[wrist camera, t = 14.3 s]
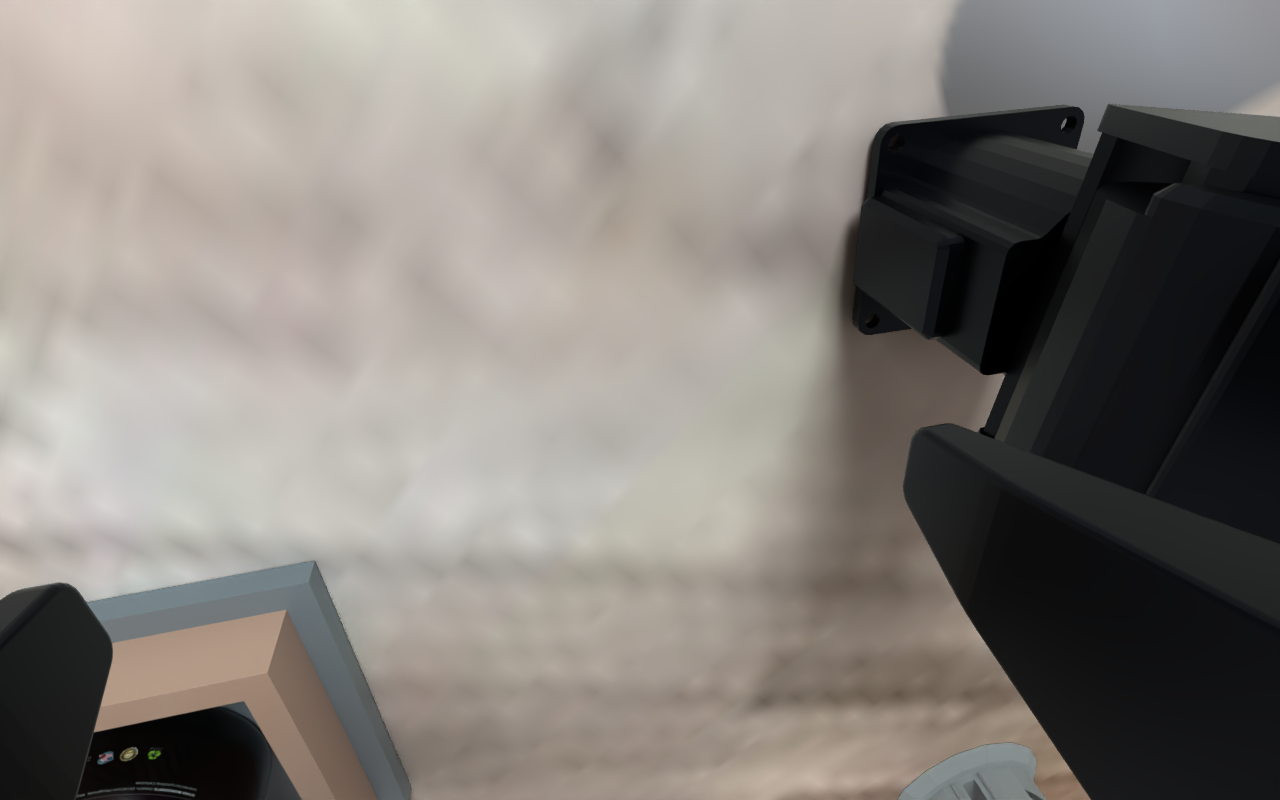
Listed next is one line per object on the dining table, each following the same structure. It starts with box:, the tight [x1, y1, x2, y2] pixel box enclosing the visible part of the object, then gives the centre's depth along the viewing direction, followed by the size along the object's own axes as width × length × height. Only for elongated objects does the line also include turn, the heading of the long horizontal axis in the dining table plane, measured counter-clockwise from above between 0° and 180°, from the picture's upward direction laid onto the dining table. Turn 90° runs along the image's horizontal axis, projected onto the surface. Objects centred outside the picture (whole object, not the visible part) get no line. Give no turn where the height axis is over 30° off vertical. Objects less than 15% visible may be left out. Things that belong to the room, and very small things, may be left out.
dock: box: [86, 561, 411, 800], centre depth 24 cm, size 14×14×4 cm
